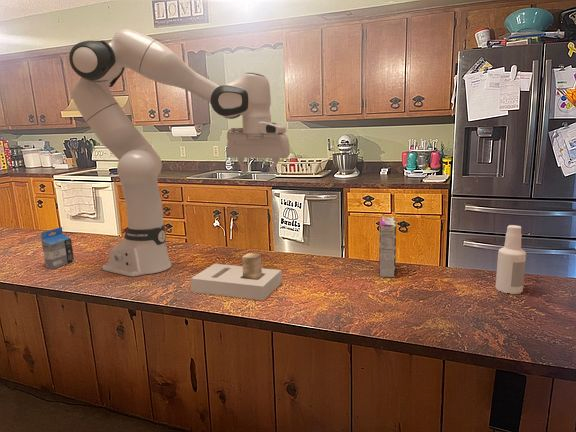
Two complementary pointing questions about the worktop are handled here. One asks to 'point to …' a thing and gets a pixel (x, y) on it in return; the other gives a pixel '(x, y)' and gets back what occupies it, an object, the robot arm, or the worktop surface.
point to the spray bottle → (511, 263)
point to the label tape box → (56, 248)
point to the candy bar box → (387, 247)
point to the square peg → (252, 266)
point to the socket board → (235, 282)
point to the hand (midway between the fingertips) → (258, 172)
